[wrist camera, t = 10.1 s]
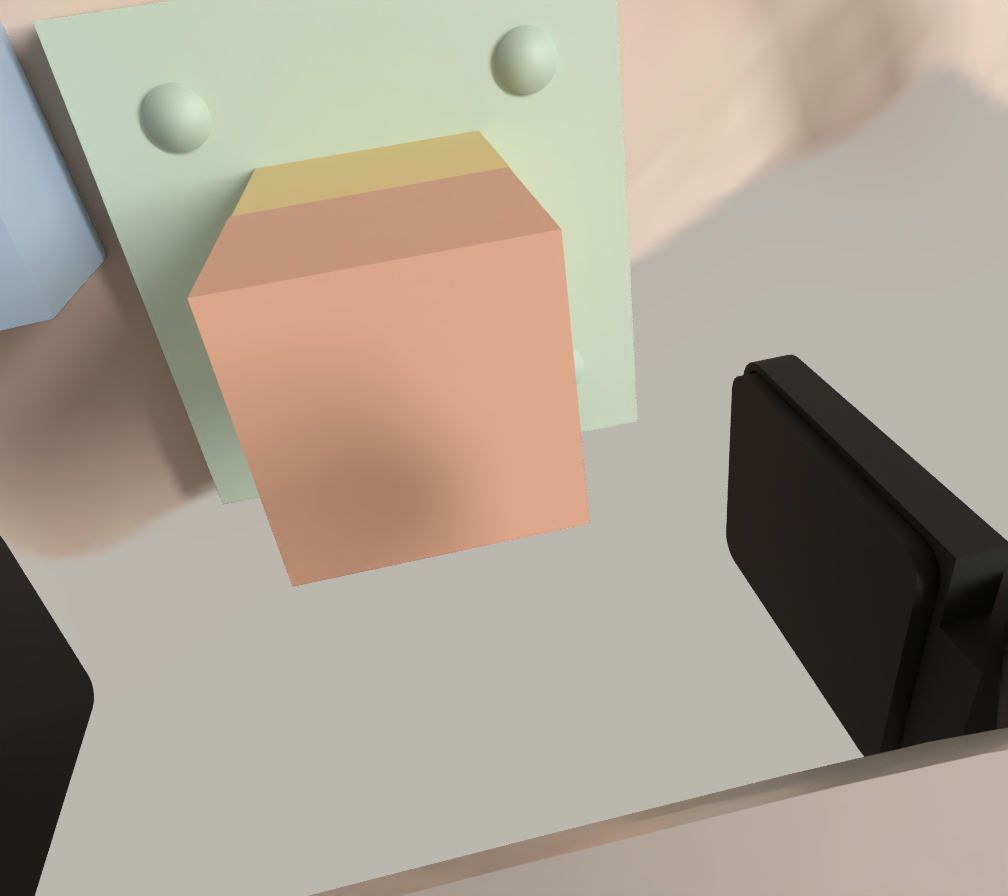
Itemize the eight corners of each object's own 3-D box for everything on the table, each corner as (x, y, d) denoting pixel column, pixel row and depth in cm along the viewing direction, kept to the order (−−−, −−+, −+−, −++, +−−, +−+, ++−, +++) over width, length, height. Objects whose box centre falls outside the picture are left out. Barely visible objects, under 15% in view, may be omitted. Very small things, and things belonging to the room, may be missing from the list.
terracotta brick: (229, 216, 17) (187, 297, 12) (508, 166, 17) (561, 229, 13) (305, 456, 20) (292, 586, 15) (539, 408, 20) (589, 523, 16)
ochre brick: (255, 168, 21) (230, 216, 17) (478, 130, 21) (510, 167, 17) (313, 371, 24) (306, 456, 20) (506, 334, 24) (540, 409, 20)
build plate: (49, 19, 19) (30, 22, 18) (600, -66, 20) (615, -69, 19) (227, 484, 27) (222, 507, 26) (627, 404, 28) (638, 423, 27)
